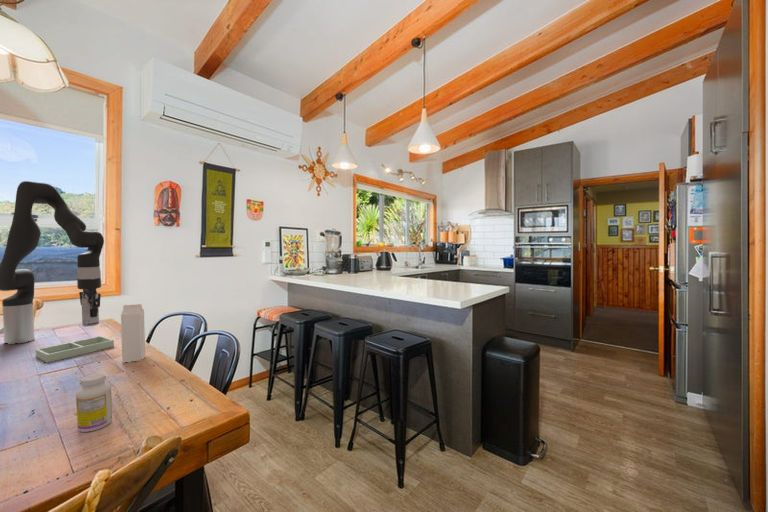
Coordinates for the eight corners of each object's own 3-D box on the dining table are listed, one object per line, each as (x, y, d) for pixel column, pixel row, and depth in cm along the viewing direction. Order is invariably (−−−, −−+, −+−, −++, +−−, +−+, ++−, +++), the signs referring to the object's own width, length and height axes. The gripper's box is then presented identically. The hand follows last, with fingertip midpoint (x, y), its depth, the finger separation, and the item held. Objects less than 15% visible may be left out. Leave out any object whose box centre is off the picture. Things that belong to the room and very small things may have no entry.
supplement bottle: (92, 418, 85) (90, 371, 85) (118, 417, 86) (117, 371, 85) (69, 434, 79) (67, 382, 78) (98, 432, 79) (96, 382, 79)
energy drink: (102, 323, 142) (101, 296, 141) (90, 326, 136) (89, 299, 136) (91, 323, 142) (90, 296, 142) (78, 326, 137) (77, 298, 136)
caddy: (36, 356, 129) (35, 349, 129) (101, 342, 147) (100, 335, 147) (47, 362, 123) (47, 354, 123) (113, 346, 142) (113, 339, 142)
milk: (141, 361, 126) (139, 305, 124) (121, 363, 123) (120, 306, 122) (145, 356, 131) (144, 302, 130) (127, 357, 129) (125, 303, 127)
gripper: (70, 277, 138) (72, 316, 139) (85, 279, 132) (86, 320, 132) (92, 275, 145) (93, 312, 146) (107, 277, 138) (109, 316, 139)
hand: (90, 316), depth 139 cm, fingers closed on energy drink, 5 cm apart
